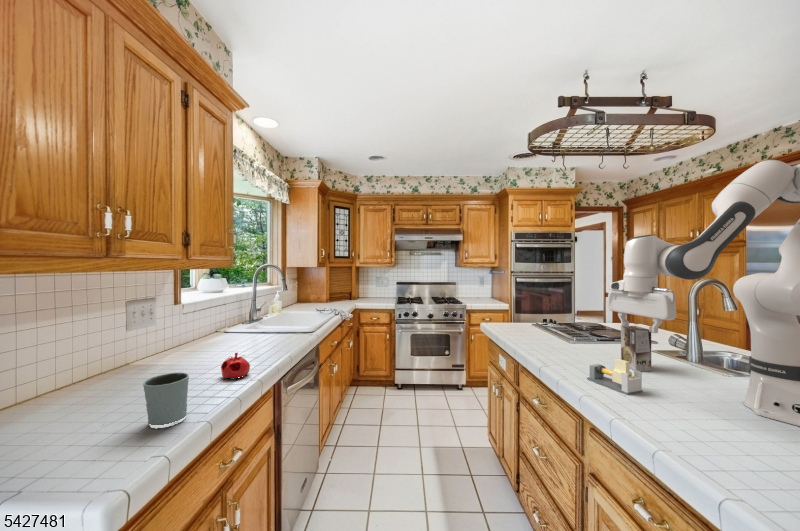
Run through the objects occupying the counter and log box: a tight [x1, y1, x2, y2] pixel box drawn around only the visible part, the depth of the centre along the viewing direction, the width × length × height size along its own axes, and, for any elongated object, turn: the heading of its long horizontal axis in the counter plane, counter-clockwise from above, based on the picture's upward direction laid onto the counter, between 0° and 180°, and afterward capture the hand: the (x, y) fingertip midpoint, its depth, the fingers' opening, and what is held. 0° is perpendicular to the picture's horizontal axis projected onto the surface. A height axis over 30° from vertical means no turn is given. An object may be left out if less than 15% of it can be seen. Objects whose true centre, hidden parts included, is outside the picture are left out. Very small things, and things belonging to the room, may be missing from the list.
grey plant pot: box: [142, 372, 190, 425], centre depth 90 cm, size 10×10×12 cm
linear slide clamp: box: [586, 363, 643, 396], centre depth 114 cm, size 15×7×7 cm, turn 18°
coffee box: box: [620, 325, 652, 372], centre depth 132 cm, size 9×6×16 cm
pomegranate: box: [220, 352, 251, 379], centre depth 126 cm, size 10×10×9 cm
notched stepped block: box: [611, 358, 633, 384], centre depth 111 cm, size 4×4×7 cm
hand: (638, 329), depth 105 cm, fingers open, 8 cm apart
